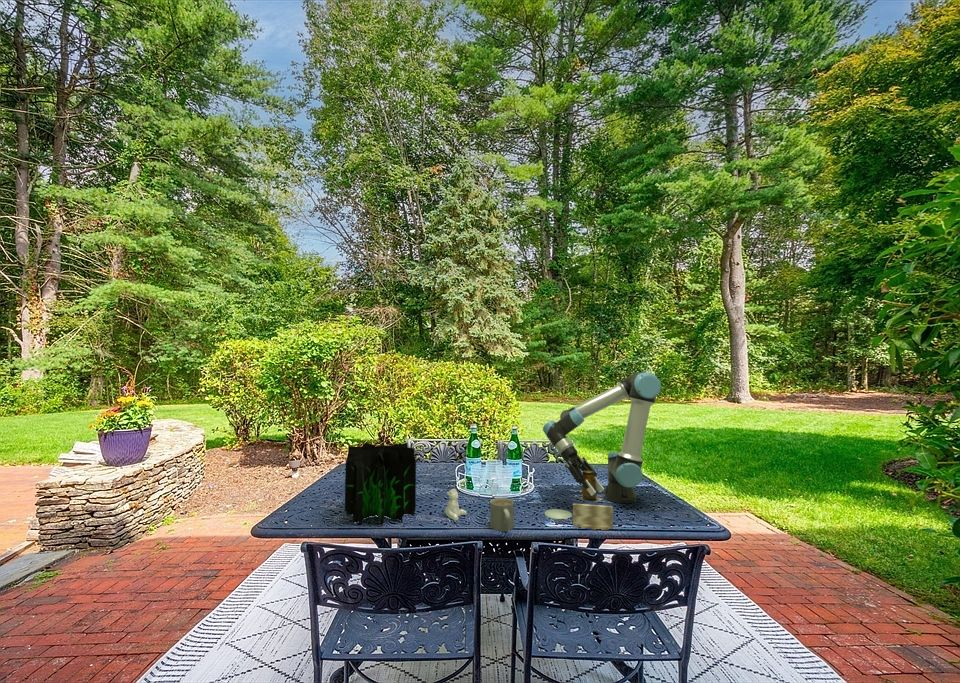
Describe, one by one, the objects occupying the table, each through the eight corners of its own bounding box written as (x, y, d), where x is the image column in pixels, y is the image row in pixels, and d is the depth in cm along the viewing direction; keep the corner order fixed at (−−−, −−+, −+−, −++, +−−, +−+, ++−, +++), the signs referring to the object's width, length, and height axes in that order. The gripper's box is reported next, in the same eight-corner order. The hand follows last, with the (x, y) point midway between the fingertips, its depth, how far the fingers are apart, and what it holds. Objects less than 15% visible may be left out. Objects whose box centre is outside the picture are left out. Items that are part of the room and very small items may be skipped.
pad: (555, 508, 204) (555, 507, 204) (577, 515, 195) (577, 514, 195) (539, 514, 196) (539, 513, 196) (561, 521, 187) (561, 520, 187)
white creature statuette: (456, 521, 186) (456, 493, 187) (439, 518, 191) (440, 490, 191) (467, 515, 195) (467, 487, 195) (451, 511, 199) (451, 485, 199)
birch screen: (573, 527, 180) (572, 505, 181) (573, 524, 184) (572, 502, 184) (613, 530, 177) (612, 508, 177) (612, 527, 181) (612, 505, 181)
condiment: (586, 495, 200) (585, 469, 200) (603, 499, 194) (602, 472, 195) (578, 499, 195) (577, 472, 195) (595, 503, 189) (594, 475, 189)
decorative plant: (358, 532, 175) (359, 456, 176) (339, 510, 200) (340, 444, 201) (423, 518, 190) (424, 449, 191) (398, 500, 215) (399, 439, 217)
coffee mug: (489, 521, 186) (489, 498, 187) (512, 521, 187) (512, 497, 187) (491, 534, 173) (491, 508, 173) (516, 533, 173) (516, 508, 174)
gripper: (573, 452, 213) (604, 492, 200) (549, 458, 200) (580, 502, 187) (582, 442, 209) (614, 483, 197) (558, 448, 196) (591, 492, 184)
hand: (597, 492), depth 192 cm, fingers closed on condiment, 6 cm apart
